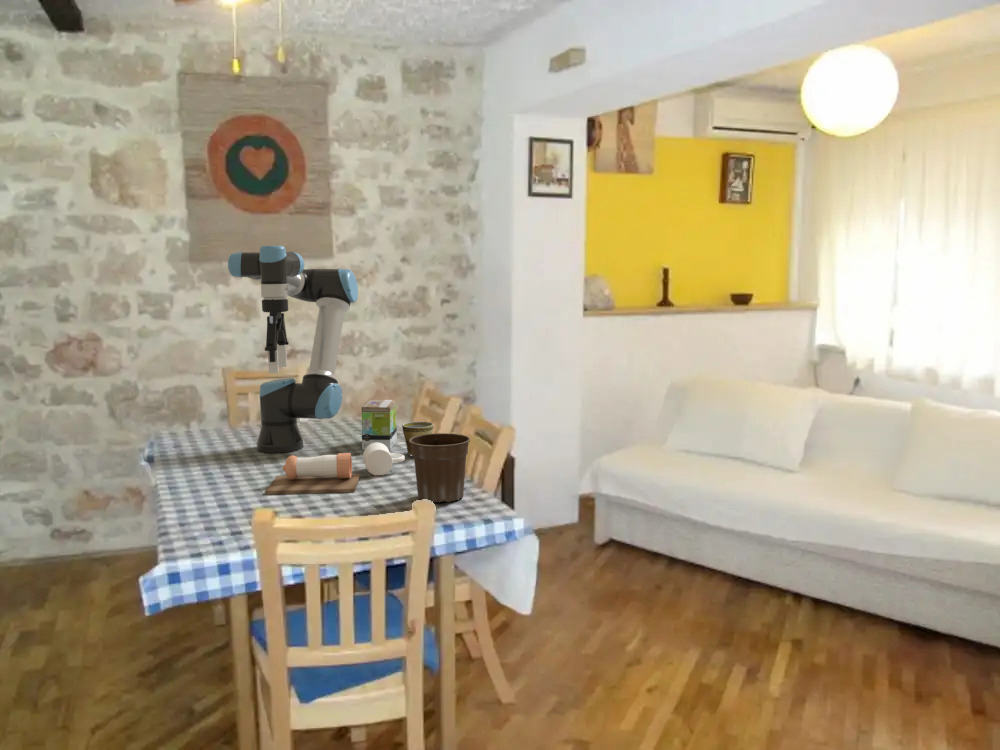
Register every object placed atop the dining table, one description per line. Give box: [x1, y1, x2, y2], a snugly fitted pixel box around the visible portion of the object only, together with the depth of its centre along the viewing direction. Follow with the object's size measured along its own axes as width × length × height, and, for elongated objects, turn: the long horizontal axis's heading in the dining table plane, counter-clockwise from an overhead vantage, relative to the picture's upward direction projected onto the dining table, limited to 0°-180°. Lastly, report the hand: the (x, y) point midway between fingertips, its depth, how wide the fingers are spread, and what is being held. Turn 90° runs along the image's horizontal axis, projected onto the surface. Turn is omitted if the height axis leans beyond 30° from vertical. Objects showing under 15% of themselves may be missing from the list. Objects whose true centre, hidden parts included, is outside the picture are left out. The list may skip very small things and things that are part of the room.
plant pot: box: [409, 432, 471, 504], centre depth 236 cm, size 16×16×16 cm
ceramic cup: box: [401, 421, 434, 456], centre depth 287 cm, size 13×10×10 cm
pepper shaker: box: [282, 452, 353, 480], centre depth 253 cm, size 7×7×19 cm
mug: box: [362, 442, 406, 476], centre depth 265 cm, size 12×10×8 cm
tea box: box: [361, 399, 398, 451], centre depth 299 cm, size 15×10×15 cm, turn 179°
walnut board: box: [265, 473, 361, 495], centre depth 250 cm, size 24×16×1 cm, turn 93°
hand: (278, 369), depth 263 cm, fingers open, 13 cm apart
